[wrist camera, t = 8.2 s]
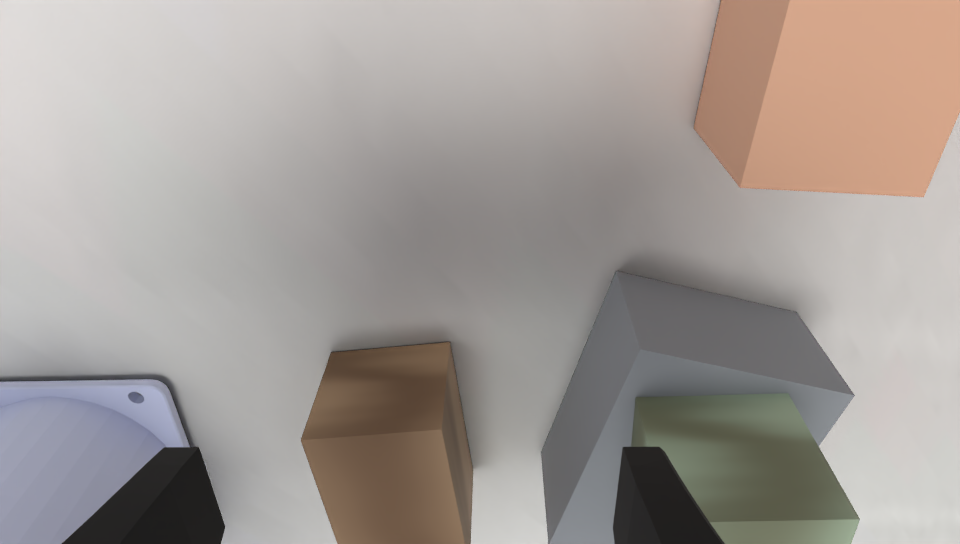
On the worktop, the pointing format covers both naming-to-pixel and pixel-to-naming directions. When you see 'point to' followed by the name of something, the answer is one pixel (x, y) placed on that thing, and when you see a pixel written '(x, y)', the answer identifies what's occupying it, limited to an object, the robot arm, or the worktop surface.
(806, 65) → the terracotta brick
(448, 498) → the walnut brick
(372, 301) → the worktop surface
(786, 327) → the slate brick
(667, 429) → the sage brick
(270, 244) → the worktop surface
